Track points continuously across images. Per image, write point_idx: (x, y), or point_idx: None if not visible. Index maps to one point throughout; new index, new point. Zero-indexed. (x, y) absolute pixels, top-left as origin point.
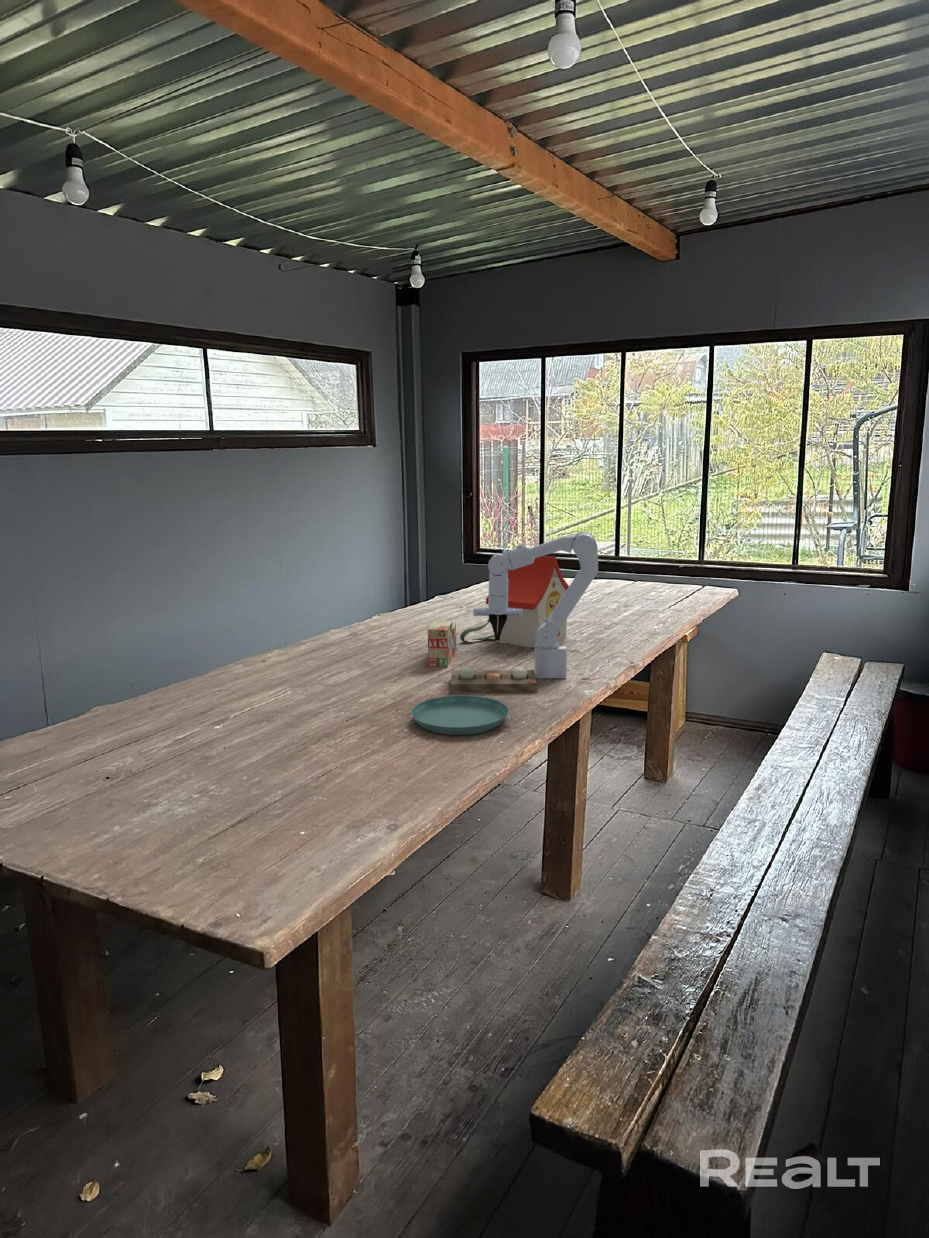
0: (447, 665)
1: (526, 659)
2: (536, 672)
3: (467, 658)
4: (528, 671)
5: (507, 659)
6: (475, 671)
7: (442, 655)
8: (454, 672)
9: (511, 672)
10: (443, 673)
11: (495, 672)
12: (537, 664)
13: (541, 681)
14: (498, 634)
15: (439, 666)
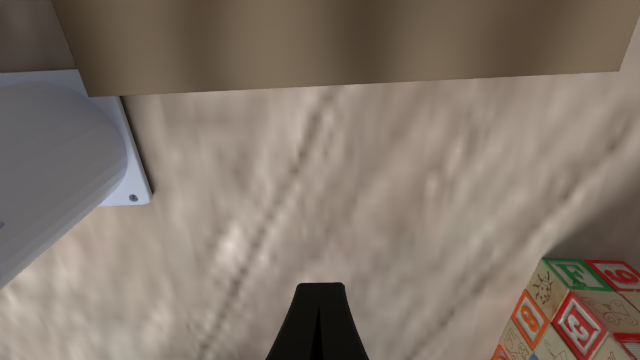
0: (546, 263)
1: (215, 346)
2: (95, 117)
3: (437, 352)
4: (111, 58)
5: None
6: (465, 49)
7: (604, 300)
8: (618, 18)
9: (220, 27)
10: (591, 164)
11: (330, 25)
12: (50, 126)
13: (55, 17)
14: (306, 332)
15: (578, 261)
